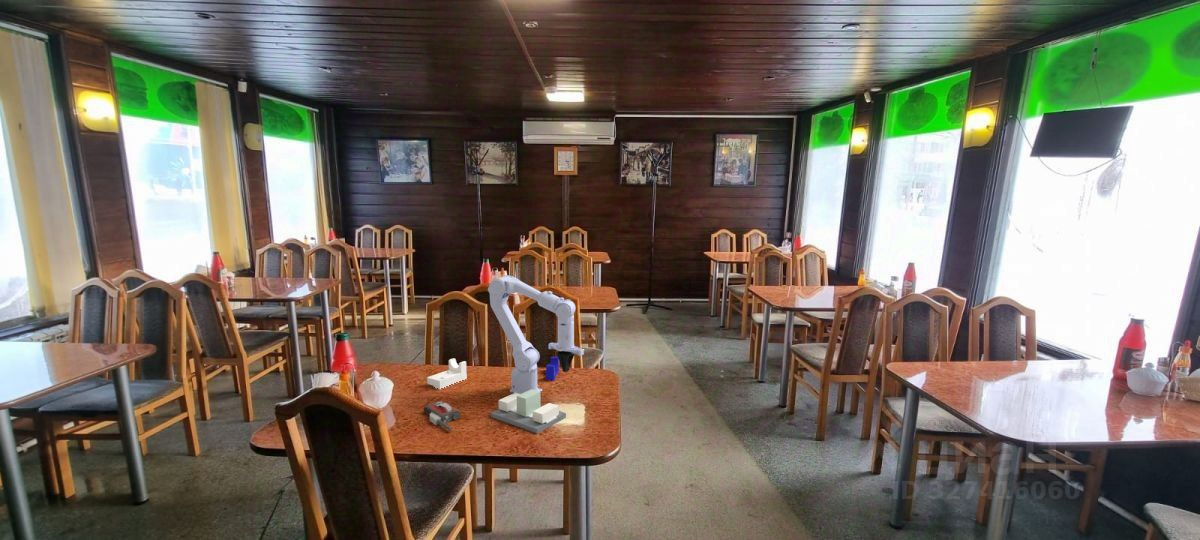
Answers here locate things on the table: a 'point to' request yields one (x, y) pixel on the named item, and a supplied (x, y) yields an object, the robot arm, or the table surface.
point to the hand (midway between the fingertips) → (565, 371)
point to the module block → (528, 402)
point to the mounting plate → (533, 422)
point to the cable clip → (552, 369)
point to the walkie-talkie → (441, 413)
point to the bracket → (449, 375)
